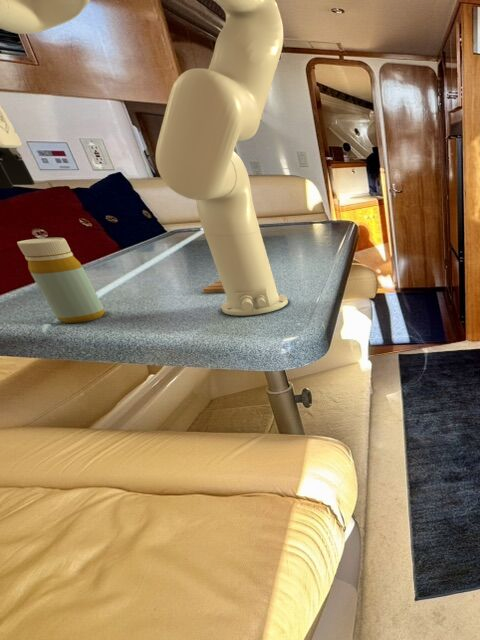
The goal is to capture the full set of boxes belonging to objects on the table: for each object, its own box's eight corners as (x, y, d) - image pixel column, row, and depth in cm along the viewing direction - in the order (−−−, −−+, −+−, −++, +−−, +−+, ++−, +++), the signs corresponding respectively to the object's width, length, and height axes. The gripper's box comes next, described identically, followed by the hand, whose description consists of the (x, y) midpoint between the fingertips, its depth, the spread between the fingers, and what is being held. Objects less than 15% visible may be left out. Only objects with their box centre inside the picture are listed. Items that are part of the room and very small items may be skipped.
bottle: (115, 312, 83) (78, 237, 76) (81, 324, 77) (36, 244, 70) (85, 311, 84) (45, 236, 76) (48, 323, 78) (1, 243, 70)
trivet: (251, 283, 103) (250, 279, 103) (238, 292, 97) (237, 287, 96) (219, 284, 102) (218, 280, 102) (204, 293, 96) (202, 288, 95)
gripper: (-47, 55, 56) (23, 189, 64) (4, 73, 69) (57, 183, 77) (-132, 47, 53) (-46, 190, 61) (-62, 68, 65) (2, 183, 74)
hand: (11, 186), depth 69 cm, fingers open, 9 cm apart
